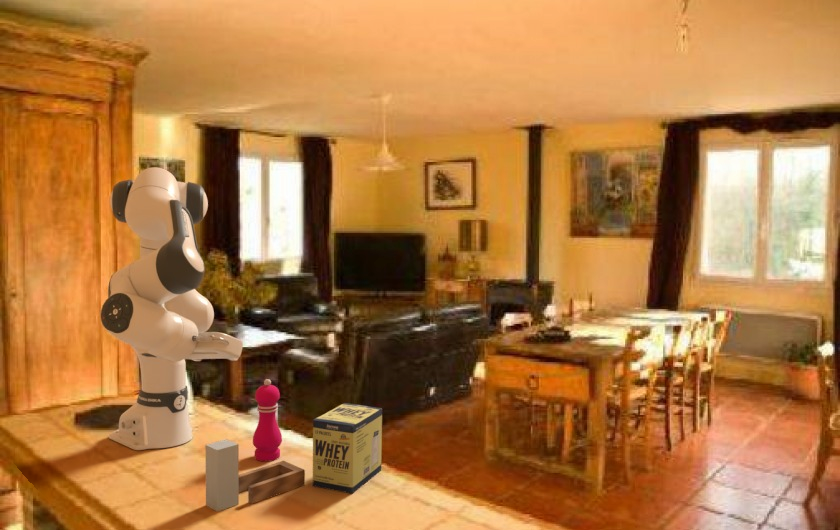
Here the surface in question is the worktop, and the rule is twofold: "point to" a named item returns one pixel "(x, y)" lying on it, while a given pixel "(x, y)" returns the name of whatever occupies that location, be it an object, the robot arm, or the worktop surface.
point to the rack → (271, 480)
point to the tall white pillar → (222, 475)
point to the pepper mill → (267, 423)
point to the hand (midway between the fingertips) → (217, 357)
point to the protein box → (347, 447)
